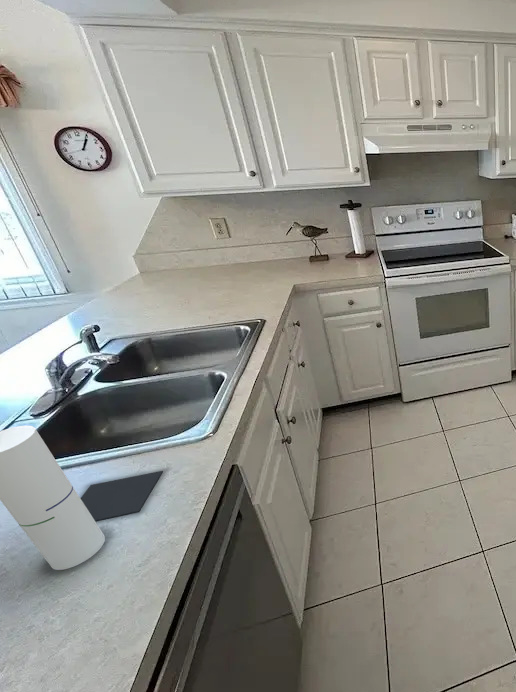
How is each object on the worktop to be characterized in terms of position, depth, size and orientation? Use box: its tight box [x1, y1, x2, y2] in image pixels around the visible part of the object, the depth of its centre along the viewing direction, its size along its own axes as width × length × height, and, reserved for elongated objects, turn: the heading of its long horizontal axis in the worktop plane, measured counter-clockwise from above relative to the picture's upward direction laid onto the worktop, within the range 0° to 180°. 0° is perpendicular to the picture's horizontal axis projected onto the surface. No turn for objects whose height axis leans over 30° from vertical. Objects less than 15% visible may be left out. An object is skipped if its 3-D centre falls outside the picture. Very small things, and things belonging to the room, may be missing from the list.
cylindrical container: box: [0, 425, 106, 571], centre depth 67 cm, size 7×7×25 cm
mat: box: [80, 470, 164, 522], centre depth 83 cm, size 13×11×1 cm
